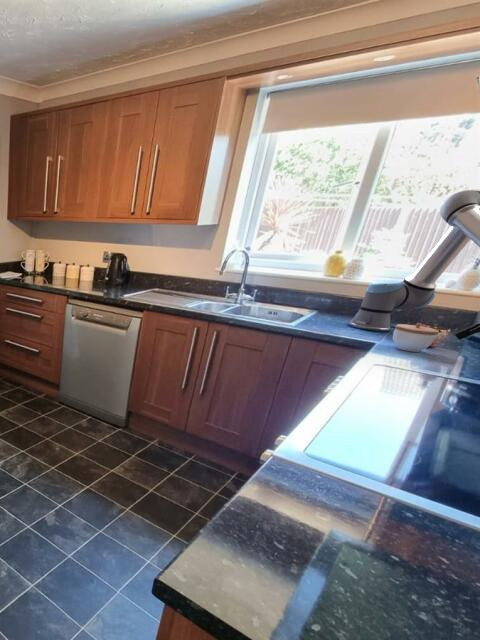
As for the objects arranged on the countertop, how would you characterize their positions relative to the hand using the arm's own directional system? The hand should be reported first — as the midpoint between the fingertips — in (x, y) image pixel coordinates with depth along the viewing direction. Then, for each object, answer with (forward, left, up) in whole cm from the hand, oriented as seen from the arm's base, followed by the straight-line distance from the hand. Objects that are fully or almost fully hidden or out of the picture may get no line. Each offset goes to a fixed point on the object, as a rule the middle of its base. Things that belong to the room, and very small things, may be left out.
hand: (456, 336), depth 167 cm
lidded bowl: (+10, -6, -8) cm, 14 cm away
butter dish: (-3, -16, -8) cm, 18 cm away
